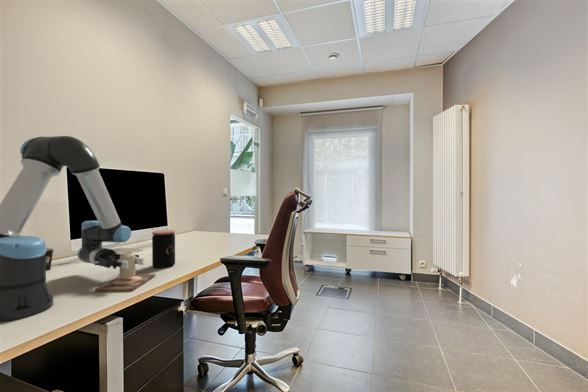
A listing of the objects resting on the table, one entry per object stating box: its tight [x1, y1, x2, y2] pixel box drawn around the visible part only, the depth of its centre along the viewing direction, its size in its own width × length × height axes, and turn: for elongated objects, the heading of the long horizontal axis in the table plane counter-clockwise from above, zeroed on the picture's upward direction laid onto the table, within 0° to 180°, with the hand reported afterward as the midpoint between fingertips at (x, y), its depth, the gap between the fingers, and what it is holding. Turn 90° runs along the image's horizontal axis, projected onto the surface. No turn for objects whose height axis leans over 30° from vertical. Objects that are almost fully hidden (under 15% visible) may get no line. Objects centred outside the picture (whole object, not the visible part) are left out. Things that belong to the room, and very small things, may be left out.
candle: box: [119, 251, 136, 278], centre depth 111 cm, size 6×6×10 cm
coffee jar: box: [151, 229, 176, 269], centre depth 138 cm, size 11×11×18 cm
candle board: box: [94, 273, 156, 293], centre depth 111 cm, size 18×14×2 cm
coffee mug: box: [46, 247, 54, 272], centre depth 129 cm, size 12×9×10 cm
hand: (135, 263), depth 109 cm, fingers closed on candle, 5 cm apart
